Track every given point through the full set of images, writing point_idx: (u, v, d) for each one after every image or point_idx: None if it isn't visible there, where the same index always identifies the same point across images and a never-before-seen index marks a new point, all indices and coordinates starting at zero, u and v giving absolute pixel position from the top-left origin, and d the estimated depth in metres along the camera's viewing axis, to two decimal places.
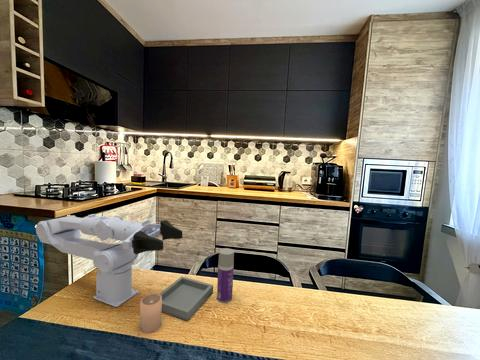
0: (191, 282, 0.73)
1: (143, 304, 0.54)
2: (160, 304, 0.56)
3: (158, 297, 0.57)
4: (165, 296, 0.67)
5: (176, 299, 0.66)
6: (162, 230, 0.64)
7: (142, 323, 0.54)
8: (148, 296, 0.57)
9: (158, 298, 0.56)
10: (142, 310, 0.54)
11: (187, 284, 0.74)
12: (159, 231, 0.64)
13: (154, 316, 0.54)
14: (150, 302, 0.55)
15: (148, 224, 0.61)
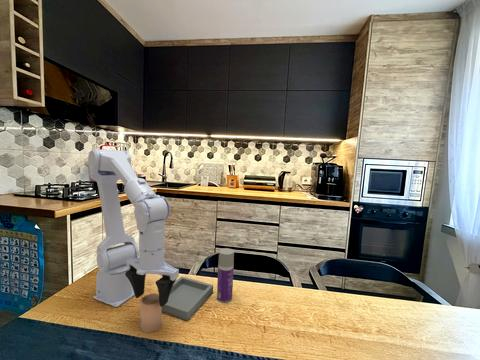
0: (191, 282, 0.73)
1: (143, 304, 0.54)
2: None
3: (158, 297, 0.57)
4: None
5: (176, 299, 0.66)
6: None
7: (142, 322, 0.54)
8: (148, 296, 0.57)
9: (158, 298, 0.56)
10: (142, 310, 0.54)
11: (187, 284, 0.74)
12: None
13: (154, 316, 0.54)
14: (150, 302, 0.55)
15: None
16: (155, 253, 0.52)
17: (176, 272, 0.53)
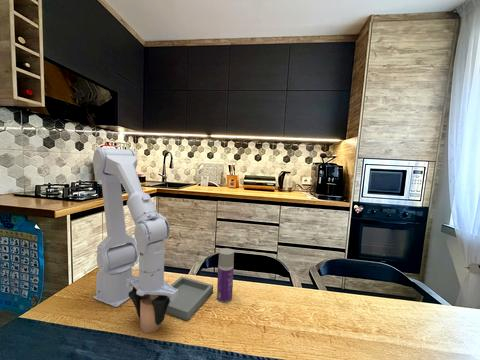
0: (191, 282, 0.73)
1: (143, 304, 0.54)
2: None
3: None
4: None
5: (176, 299, 0.66)
6: None
7: (142, 322, 0.54)
8: (148, 296, 0.57)
9: None
10: (142, 310, 0.54)
11: (187, 284, 0.74)
12: None
13: (154, 316, 0.54)
14: (150, 302, 0.55)
15: None
16: (155, 274, 0.53)
17: (175, 293, 0.53)
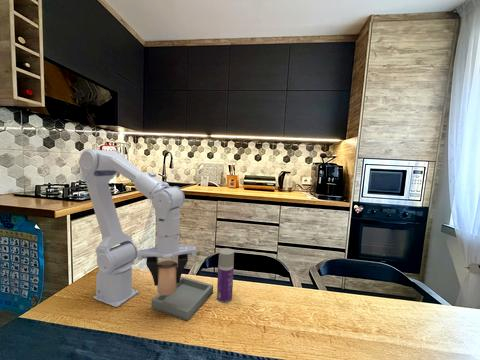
0: (191, 282, 0.73)
1: (165, 269, 0.57)
2: None
3: (172, 262, 0.61)
4: (165, 296, 0.67)
5: (176, 299, 0.66)
6: None
7: (164, 286, 0.58)
8: (162, 263, 0.60)
9: (173, 262, 0.61)
10: (165, 274, 0.57)
11: (187, 284, 0.74)
12: None
13: (175, 277, 0.59)
14: (170, 266, 0.59)
15: None
16: (177, 236, 0.58)
17: (195, 248, 0.62)
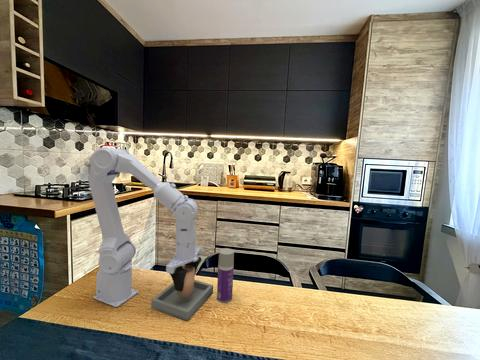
0: None
1: (191, 271, 0.65)
2: None
3: (185, 266, 0.68)
4: (165, 296, 0.67)
5: (176, 299, 0.66)
6: None
7: (191, 287, 0.65)
8: None
9: (186, 266, 0.68)
10: (191, 277, 0.65)
11: None
12: None
13: None
14: (190, 269, 0.66)
15: None
16: None
17: None
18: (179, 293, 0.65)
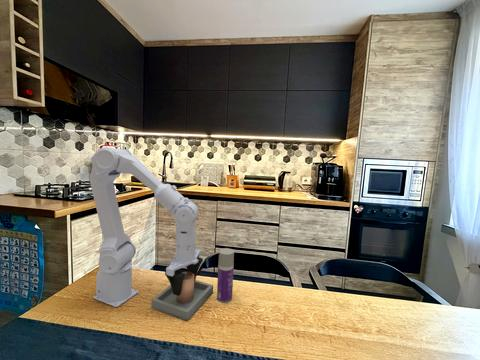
0: None
1: (191, 278, 0.65)
2: None
3: None
4: (165, 296, 0.67)
5: None
6: None
7: (190, 294, 0.65)
8: None
9: (186, 273, 0.68)
10: (191, 283, 0.65)
11: None
12: None
13: None
14: (190, 275, 0.66)
15: None
16: None
17: None
18: (179, 300, 0.65)
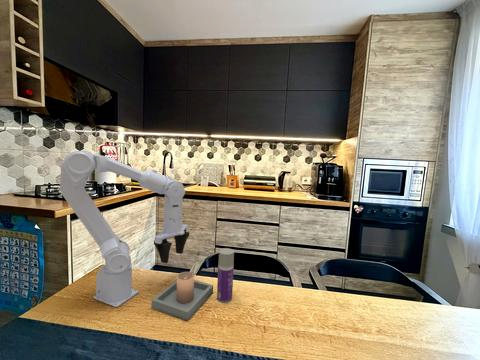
0: None
1: (191, 278, 0.65)
2: None
3: (184, 273, 0.68)
4: (165, 296, 0.67)
5: None
6: (180, 235, 0.77)
7: (190, 294, 0.65)
8: (180, 277, 0.65)
9: (186, 272, 0.68)
10: (191, 283, 0.65)
11: None
12: None
13: None
14: (189, 275, 0.66)
15: None
16: None
17: None
18: (179, 300, 0.65)
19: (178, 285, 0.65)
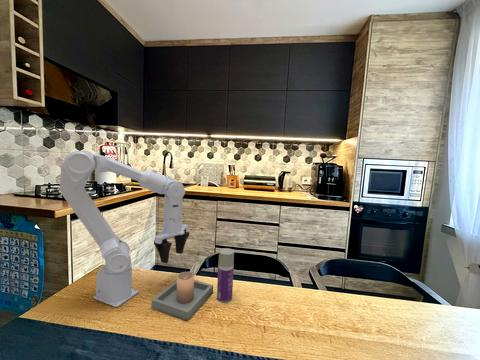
0: None
1: (191, 278, 0.65)
2: None
3: (184, 273, 0.68)
4: (165, 296, 0.67)
5: None
6: (180, 235, 0.77)
7: (191, 294, 0.65)
8: (181, 277, 0.65)
9: (186, 272, 0.68)
10: (191, 283, 0.65)
11: None
12: None
13: None
14: (190, 275, 0.67)
15: None
16: None
17: None
18: (179, 300, 0.65)
19: (178, 285, 0.65)
